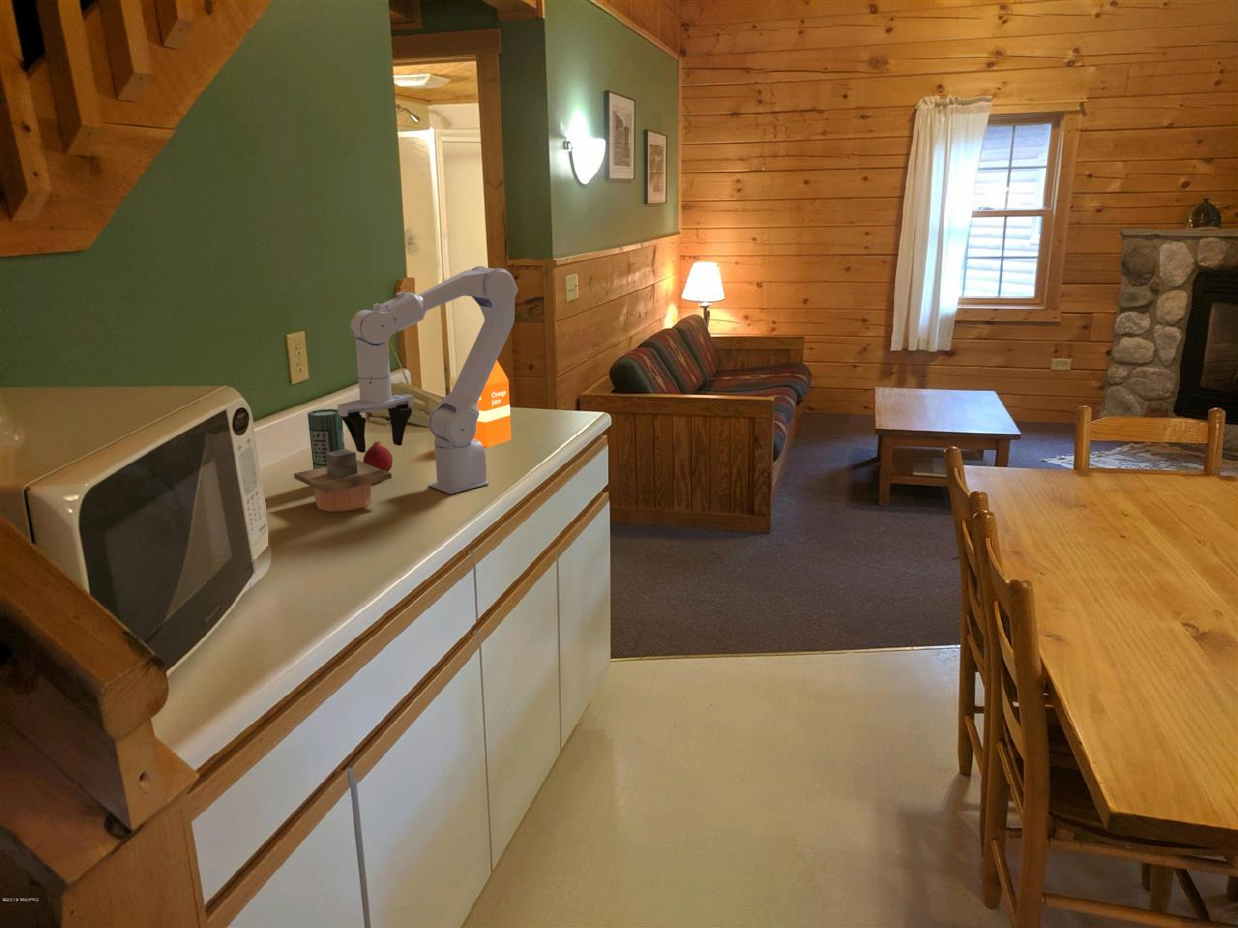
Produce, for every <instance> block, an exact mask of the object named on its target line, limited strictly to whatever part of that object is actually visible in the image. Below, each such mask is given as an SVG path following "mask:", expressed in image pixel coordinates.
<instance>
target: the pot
mask: <svg viewBox="0 0 1238 928" xmlns="http://www.w3.org/2000/svg"><path fill="white" fill-rule="evenodd" d="M371 484H372V483H369V484H365V485H361V486H356V487H352V488H348V489H343V490H339V491H335V492H330V493H325V492H323V491H321V490H318V489H316V488H314V487H313V489H314V490H313V491H314V500H315V504H316V509H318V510H320V511H322V512H323V511H324V512H330V513H331V512H332V513H339V512H350V511H356V510H360V509H363V508H366V507H368V506H369V505H370V504H371V503H372V501H373V500H372V488H371Z"/></svg>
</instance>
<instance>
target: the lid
mask: <svg viewBox="0 0 1238 928" xmlns="http://www.w3.org/2000/svg"><path fill="white" fill-rule="evenodd" d="M326 463H327V467H322V468H318V469H313V468H312V469H309V470H305V471H300V472H294V473H293V477H294V480H296V481H299V482H301V483H303V484H305V485H307V486H310V487H312V488H313V489H314V488H316V489H318V490H321V491H323V492H325V493H330V492H335V491H339V490H343V489H348V488H352V487H356V486H361V485H365V484H369V483H370V484H373V483H378V482H383V481H387V480H390V479H392V478H393V475H392V472H390V471H388V472H387V471H384V470H382V469H379V468H376V467H374V466H371V465H369V464H366V463H363V461H360V460H358V459H357V454H356V452H355V451H352V450H350V449H346V448H345V449H342V450H337V451H332V452H327V453H326Z"/></svg>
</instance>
